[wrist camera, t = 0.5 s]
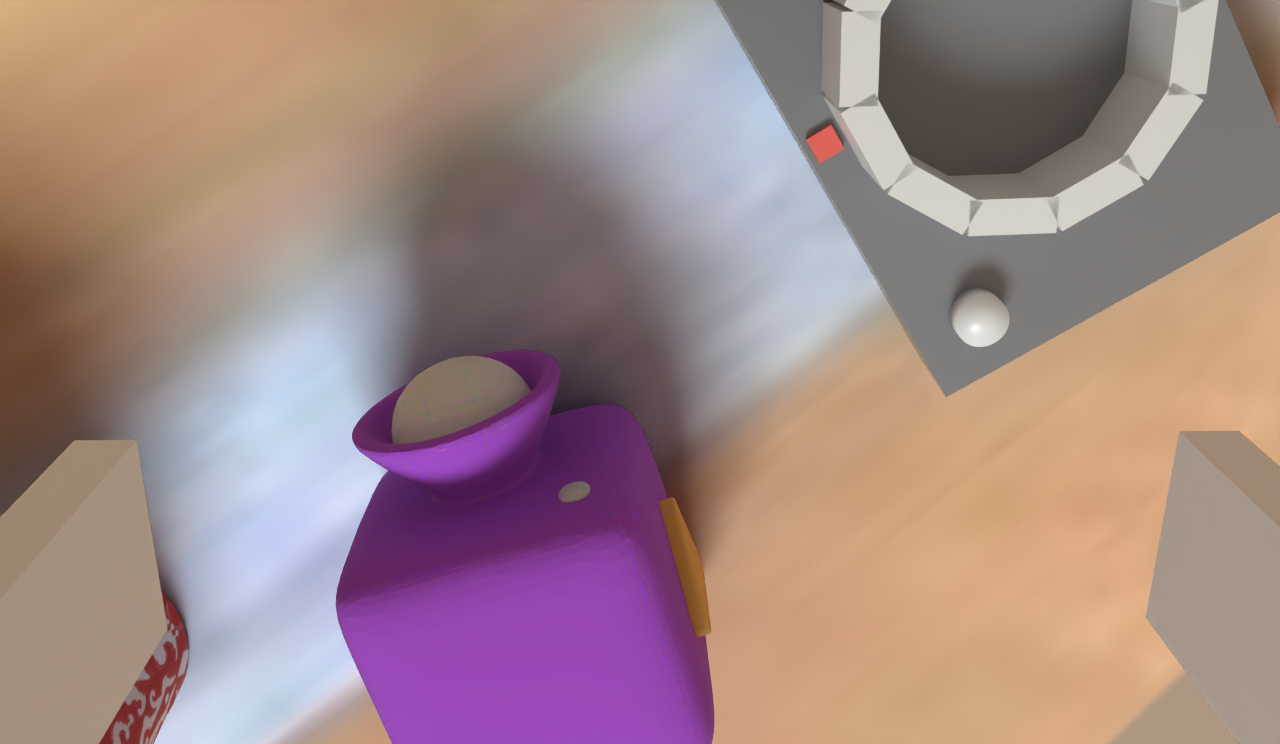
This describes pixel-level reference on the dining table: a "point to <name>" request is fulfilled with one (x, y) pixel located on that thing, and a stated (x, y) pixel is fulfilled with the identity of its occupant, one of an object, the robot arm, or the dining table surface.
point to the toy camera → (522, 569)
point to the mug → (153, 687)
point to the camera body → (1019, 152)
